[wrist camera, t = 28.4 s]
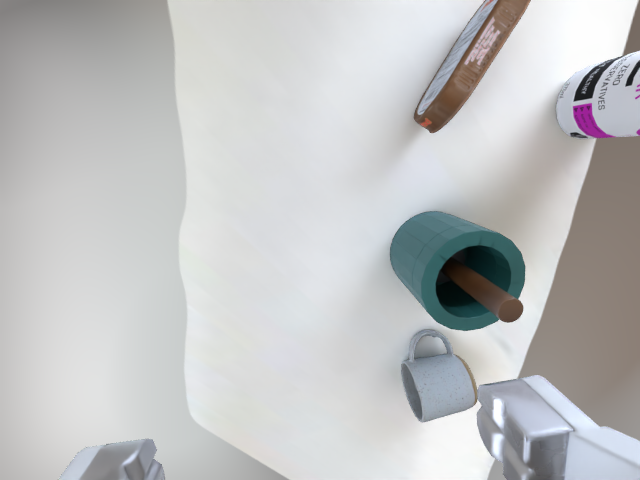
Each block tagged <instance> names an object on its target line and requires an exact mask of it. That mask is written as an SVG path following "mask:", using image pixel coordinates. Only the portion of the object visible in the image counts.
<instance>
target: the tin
mask: <svg viewBox="0 0 640 480" xmlns="http://www.w3.org/2000/svg"><path fill="white" fill-rule="evenodd" d="M530 1H531V0H485V1H484V2H483V4H482V5H481V6H480V8H479V9H478V10H477V12H476V13H475V14H474V16H473V17H472V18H471V20H470V21H469V23H468V24H467V25H466V27H465V29H464V30H463V32H462V33H461V35H460V36H459V38H458V39H457V41H456V43H455V44H454V46H453V47H452V49H451V51H450V52H449V54H448V55H447V57H446V58H445V60H444V62H443V63H442V65H441V66H440V68H439V70H438V71H437V73H436V75H435V76H434V78H433V80H432V81H431V83H430V85H429V86H428V88H427V90H426V91H425V93H424V95H423V96H422V98H421V100H420V102H419V104H418V106H417V108H416V111H415V114H414V120H415V121H416V122H417V123H418V124H420V125H421V126H423V127H424V128H426V129H427V130H429V132H430V133H435V132H437V131H438V130H440V129H441V128H442V127H443V126H445V125H446V124H447V123H448V122H449V121H450V120H451V119H452V118H453V117H454V116H455V114H456V113H457V112H458V111H459V110H460V109H461V107H462V106H463V105H464V103H465V102H466V101H467V100H468V98H469V97H470V95H471V94H472V92H473V91H474V89H475V88H476V86H477V85H478V83H479V82H480V80H481V79H482V77H483V75H484V74H485V72H486V71H487V69H488V68H489V66H490V65H491V63H492V62H493V60H494V58H495V57H496V55H497V54H498V52H499V51H500V49H501V48H502V46H503V45H504V43H505V42H506V40H507V38H508V37H509V35H510V34H511V32H512V31H513V29H514V28H515V26H516V25H517V23H518V22H519V20H520V19H521V17H522V15H523V14H524V12H525V10H526V9H527V7H528V5H529V3H530Z"/></svg>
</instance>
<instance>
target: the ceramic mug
mask: <svg viewBox="0 0 640 480" xmlns="http://www.w3.org/2000/svg"><path fill="white" fill-rule="evenodd" d="M422 336H432V337H439V338H441V339H442V340H443V343H444V344H445V347H446V350H447V354H442V355H436V356H432V357H425V358H417V359H414V354H415V347H416V344H417V343H418V341H419V340H420V338H421V337H422ZM401 374H402V380H403V385H404V389H405V392H406V396H407V399H408V401H409V404H410V406H411V408H412V410H413V412H414V414H415V416H416V417H417V419H418V420H419V421H420V422H427V421H430V420H433V419H437V418H440V417H444V416H447V415H450V414H454V413H458V412H461V411H465V410H467V409H469V408H471V407H473V406H474V405H475V404H476V402H477V387H476V383H475V380H474V377H473V374H472V372H471V370H470V368H469V367H468V365H467V364H466V362H465V361H464V360H463V359H462V358H460V357H459V356H457V355H455V354H453V350H452V347H451V344H450V342H449V341H448V339H447V338H446V337H445V336H444V335H442V334H441V333H438V332H436V331H432V330H425V331H421V332H419V333H417V334H416V335H415V336H414V337H413V338H412V340H411V342H410V346H409V360H406V361H403V362H402V365H401Z"/></svg>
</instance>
